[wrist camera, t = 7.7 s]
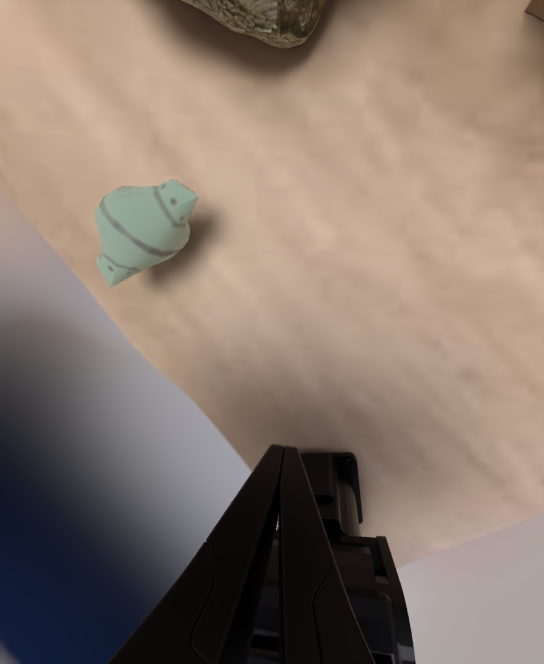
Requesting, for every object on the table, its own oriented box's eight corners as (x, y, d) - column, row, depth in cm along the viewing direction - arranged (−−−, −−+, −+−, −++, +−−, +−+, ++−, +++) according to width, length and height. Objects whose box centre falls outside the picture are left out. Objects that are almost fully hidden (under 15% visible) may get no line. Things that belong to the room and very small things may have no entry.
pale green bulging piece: (159, 288, 22) (92, 299, 16) (125, 247, 22) (43, 241, 16) (232, 218, 20) (189, 198, 14) (195, 170, 20) (133, 127, 13)
